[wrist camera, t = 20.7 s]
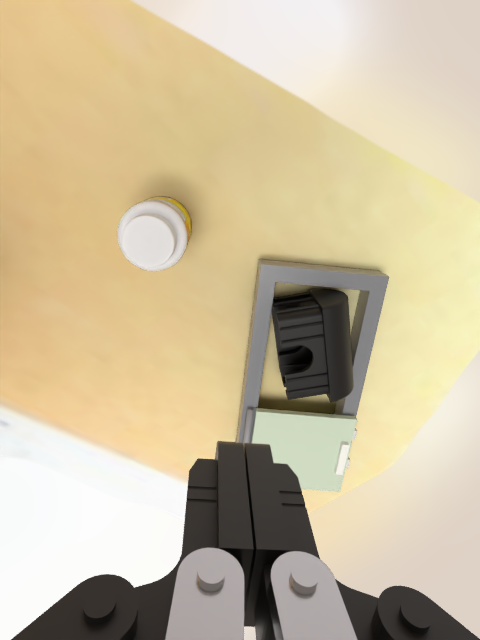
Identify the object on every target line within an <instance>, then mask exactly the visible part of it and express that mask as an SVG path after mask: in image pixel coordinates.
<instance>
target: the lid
mask: <svg viewBox="0 0 480 640" xmlns="http://www.w3.org/2000/svg"><path fill="white" fill-rule="evenodd" d="M253 413H254V409H253V408H248V409H247V416H246V424H245V431H244V439H243V445H244V443H249V441H250V434H251V427H252V420H253ZM356 422H357V419H356V417H355V416H347V415H335V414H323V413H311V412H298V411H286V410H274V409H262V408H256V412H255V419H254V426H253V433H252V440H251V443H256V444H269V445H270V447H271V452H272V457H273V462H274V463H281V464H288V465H289V467H290V468H291V469H292V470H293V472H294V473H295V474H296V475H297V477H298V480H299V483H300V487H301V489H307V490H321V491H335V492H340V489H341V485H342V481H343V477H344V473H345V468H346V464H347V460H348V456H349V452H350V447H351V443H352V439H353V435H354V431H355V427H356Z"/></svg>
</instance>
